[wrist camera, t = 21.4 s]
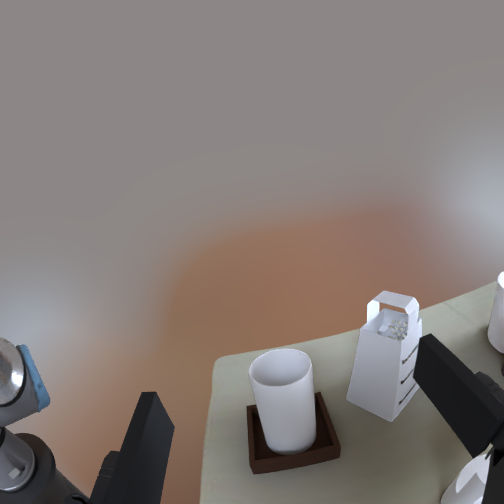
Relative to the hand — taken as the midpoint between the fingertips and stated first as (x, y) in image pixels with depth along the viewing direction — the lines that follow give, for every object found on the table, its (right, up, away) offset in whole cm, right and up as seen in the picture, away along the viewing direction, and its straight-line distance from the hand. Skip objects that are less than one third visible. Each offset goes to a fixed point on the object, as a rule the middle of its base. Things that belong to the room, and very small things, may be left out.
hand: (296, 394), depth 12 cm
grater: (+22, -20, +30) cm, 42 cm away
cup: (+4, -23, +26) cm, 35 cm away
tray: (+4, -24, +26) cm, 36 cm away
